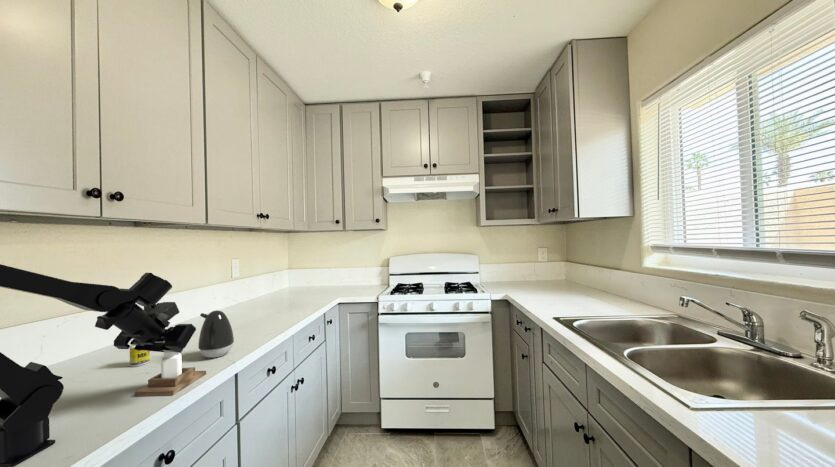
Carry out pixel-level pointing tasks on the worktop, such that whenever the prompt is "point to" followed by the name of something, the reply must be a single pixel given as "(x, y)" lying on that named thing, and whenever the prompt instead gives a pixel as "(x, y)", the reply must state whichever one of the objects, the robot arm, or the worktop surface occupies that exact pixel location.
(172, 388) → the stand
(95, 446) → the worktop surface
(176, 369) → the pepper shaker
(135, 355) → the supplement bottle
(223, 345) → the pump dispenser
